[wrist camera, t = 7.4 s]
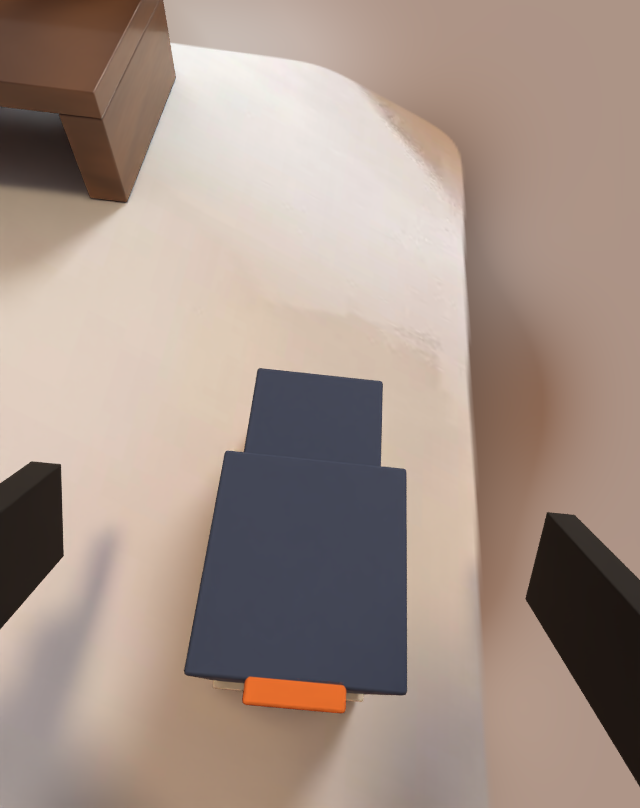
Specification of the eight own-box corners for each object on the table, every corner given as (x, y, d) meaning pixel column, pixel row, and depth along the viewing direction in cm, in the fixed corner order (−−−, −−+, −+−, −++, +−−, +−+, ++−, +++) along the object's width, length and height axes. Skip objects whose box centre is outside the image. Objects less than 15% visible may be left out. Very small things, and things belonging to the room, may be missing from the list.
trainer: (356, 708, 17) (412, 720, 10) (216, 695, 17) (172, 698, 10) (367, 429, 22) (410, 307, 15) (259, 418, 22) (250, 290, 15)
